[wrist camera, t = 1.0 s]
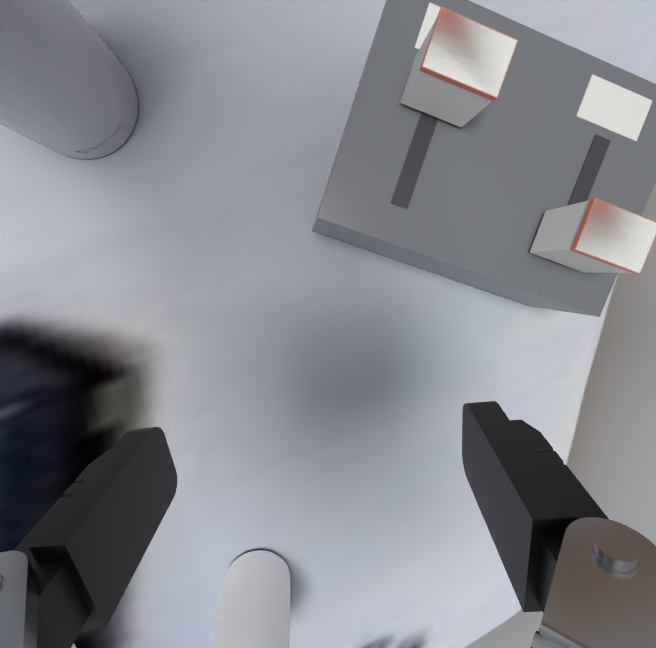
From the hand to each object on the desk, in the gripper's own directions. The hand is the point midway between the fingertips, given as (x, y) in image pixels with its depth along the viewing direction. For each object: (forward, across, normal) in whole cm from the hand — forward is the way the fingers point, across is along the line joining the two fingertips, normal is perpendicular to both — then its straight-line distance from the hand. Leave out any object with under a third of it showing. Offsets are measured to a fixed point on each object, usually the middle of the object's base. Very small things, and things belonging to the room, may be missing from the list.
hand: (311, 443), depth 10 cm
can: (+19, +11, +30) cm, 37 cm away
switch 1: (+21, -8, -11) cm, 25 cm away
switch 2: (+20, -17, 0) cm, 26 cm away
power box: (+29, -12, -5) cm, 32 cm away
